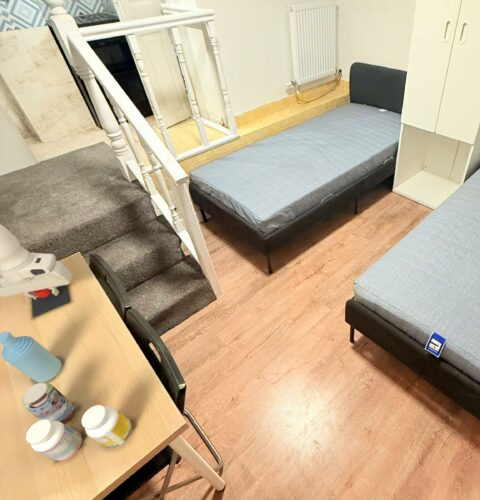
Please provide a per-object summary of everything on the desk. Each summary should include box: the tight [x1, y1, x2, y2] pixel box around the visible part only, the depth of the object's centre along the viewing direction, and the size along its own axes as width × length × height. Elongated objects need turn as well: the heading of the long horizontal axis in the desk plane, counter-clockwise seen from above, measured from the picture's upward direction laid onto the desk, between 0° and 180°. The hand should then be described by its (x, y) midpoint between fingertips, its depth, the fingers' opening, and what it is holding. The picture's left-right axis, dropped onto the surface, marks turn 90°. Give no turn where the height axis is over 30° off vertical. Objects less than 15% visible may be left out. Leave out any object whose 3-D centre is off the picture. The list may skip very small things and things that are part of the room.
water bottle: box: [0, 331, 63, 383], centre depth 85 cm, size 7×7×18 cm
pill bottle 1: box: [25, 419, 83, 462], centre depth 74 cm, size 6×6×11 cm
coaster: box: [31, 285, 70, 318], centre depth 109 cm, size 10×10×1 cm
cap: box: [34, 288, 51, 298], centre depth 106 cm, size 4×4×2 cm
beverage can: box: [21, 382, 77, 425], centre depth 78 cm, size 6×7×12 cm
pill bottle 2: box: [81, 404, 133, 449], centre depth 75 cm, size 6×6×12 cm
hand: (47, 295), depth 108 cm, fingers closed on cap, 4 cm apart
